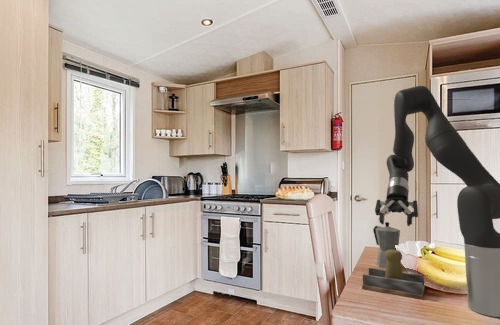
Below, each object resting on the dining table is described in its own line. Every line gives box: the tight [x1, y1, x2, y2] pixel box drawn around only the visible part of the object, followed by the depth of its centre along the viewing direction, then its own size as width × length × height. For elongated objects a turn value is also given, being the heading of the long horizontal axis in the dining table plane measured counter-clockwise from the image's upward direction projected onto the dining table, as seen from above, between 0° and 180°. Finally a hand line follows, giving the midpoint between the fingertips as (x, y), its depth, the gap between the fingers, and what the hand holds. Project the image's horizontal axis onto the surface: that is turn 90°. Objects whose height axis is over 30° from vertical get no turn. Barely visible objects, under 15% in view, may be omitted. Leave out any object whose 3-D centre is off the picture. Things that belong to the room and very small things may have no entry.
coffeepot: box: [372, 221, 401, 269], centre depth 124 cm, size 15×9×18 cm, turn 13°
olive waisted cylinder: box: [385, 249, 404, 280], centre depth 98 cm, size 6×6×11 cm
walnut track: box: [361, 267, 426, 300], centre depth 98 cm, size 17×13×4 cm
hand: (395, 223), depth 107 cm, fingers open, 8 cm apart
